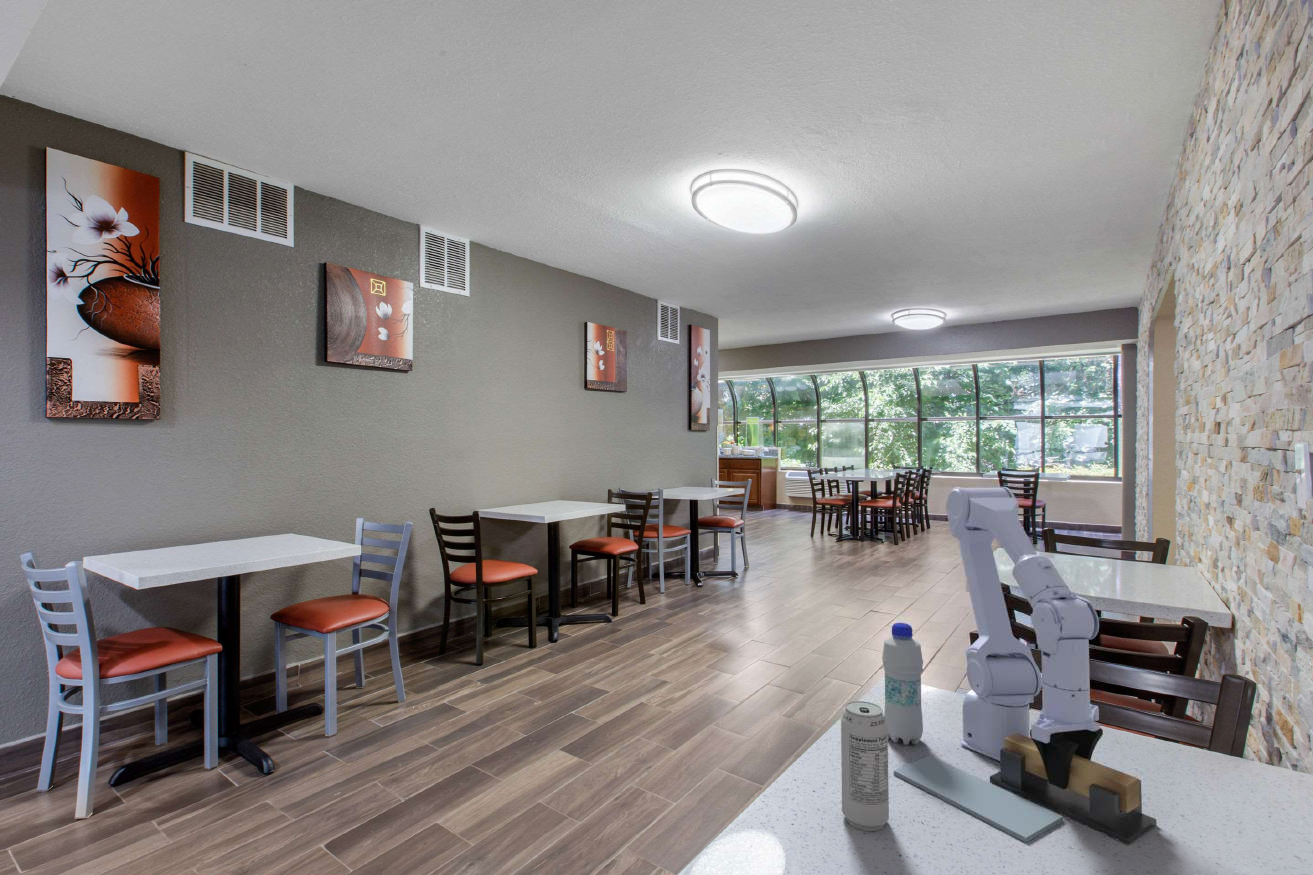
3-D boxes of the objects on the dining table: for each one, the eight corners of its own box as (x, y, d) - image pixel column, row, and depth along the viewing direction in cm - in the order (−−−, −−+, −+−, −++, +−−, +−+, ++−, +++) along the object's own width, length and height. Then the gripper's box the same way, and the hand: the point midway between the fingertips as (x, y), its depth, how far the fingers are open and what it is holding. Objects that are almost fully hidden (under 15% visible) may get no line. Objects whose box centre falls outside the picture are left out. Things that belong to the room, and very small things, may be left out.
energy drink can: (884, 809, 87) (883, 700, 88) (892, 835, 81) (891, 718, 82) (839, 805, 88) (838, 697, 89) (844, 830, 82) (843, 715, 83)
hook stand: (989, 781, 95) (989, 745, 95) (1019, 767, 99) (1018, 733, 99) (1128, 844, 79) (1127, 802, 79) (1156, 825, 83) (1155, 784, 83)
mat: (893, 774, 97) (893, 770, 97) (930, 759, 101) (930, 755, 101) (1026, 842, 80) (1025, 837, 80) (1062, 820, 84) (1062, 816, 84)
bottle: (928, 749, 105) (926, 629, 105) (886, 746, 106) (884, 627, 107) (919, 732, 111) (918, 618, 112) (880, 729, 113) (878, 617, 113)
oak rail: (1004, 761, 95) (1004, 738, 95) (1017, 755, 97) (1016, 732, 97) (1127, 812, 81) (1126, 785, 81) (1139, 805, 83) (1138, 778, 83)
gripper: (1069, 703, 82) (1071, 808, 82) (1121, 682, 90) (1123, 778, 89) (1015, 686, 88) (1017, 784, 88) (1068, 668, 96) (1070, 758, 95)
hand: (1067, 780), depth 89 cm, fingers open, 5 cm apart
